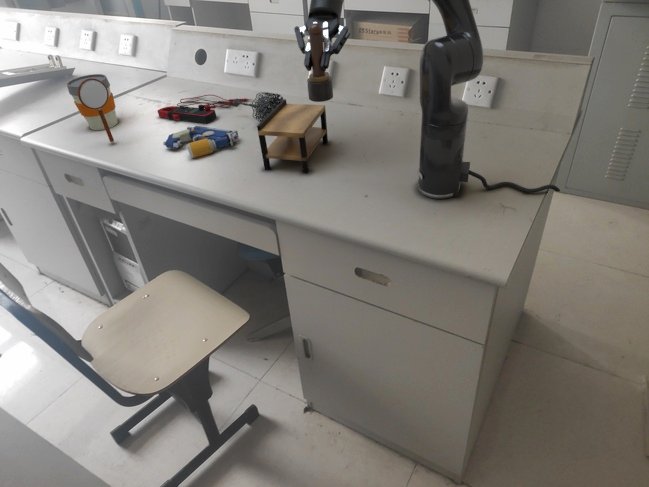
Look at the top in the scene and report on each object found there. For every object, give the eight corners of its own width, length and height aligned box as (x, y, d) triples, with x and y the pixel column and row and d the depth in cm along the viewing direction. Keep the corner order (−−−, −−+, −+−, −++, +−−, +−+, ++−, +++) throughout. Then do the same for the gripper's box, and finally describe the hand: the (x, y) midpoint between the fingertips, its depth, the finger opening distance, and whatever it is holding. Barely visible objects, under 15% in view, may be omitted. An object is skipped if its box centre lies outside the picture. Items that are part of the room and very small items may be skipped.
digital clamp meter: (209, 113, 143) (150, 106, 152) (213, 127, 145) (154, 119, 155) (250, 88, 159) (194, 82, 169) (252, 100, 162) (197, 94, 171)
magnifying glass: (101, 150, 139) (74, 84, 126) (99, 148, 139) (71, 83, 127) (127, 139, 143) (103, 74, 131) (124, 138, 144) (100, 74, 132)
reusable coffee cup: (80, 125, 156) (61, 81, 147) (116, 114, 162) (100, 71, 153) (90, 135, 148) (71, 90, 139) (128, 124, 154) (111, 79, 145)
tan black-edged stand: (328, 142, 130) (324, 100, 122) (307, 173, 116) (302, 128, 109) (289, 140, 133) (283, 99, 126) (264, 169, 120) (256, 126, 112)
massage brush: (248, 111, 154) (243, 83, 148) (300, 121, 144) (297, 91, 138) (229, 121, 148) (223, 93, 142) (282, 132, 138) (278, 102, 132)
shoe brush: (336, 93, 114) (331, 19, 103) (329, 102, 109) (323, 26, 99) (313, 92, 115) (306, 20, 105) (305, 101, 111) (297, 26, 100)
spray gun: (212, 163, 125) (244, 141, 135) (208, 149, 122) (241, 127, 133) (157, 153, 134) (191, 133, 144) (152, 140, 131) (187, 121, 142)
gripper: (294, -10, 106) (282, 61, 105) (352, -12, 102) (340, 61, 101) (304, 10, 113) (293, 76, 112) (359, 9, 109) (348, 77, 108)
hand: (315, 69), depth 106 cm, fingers closed on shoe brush, 3 cm apart
